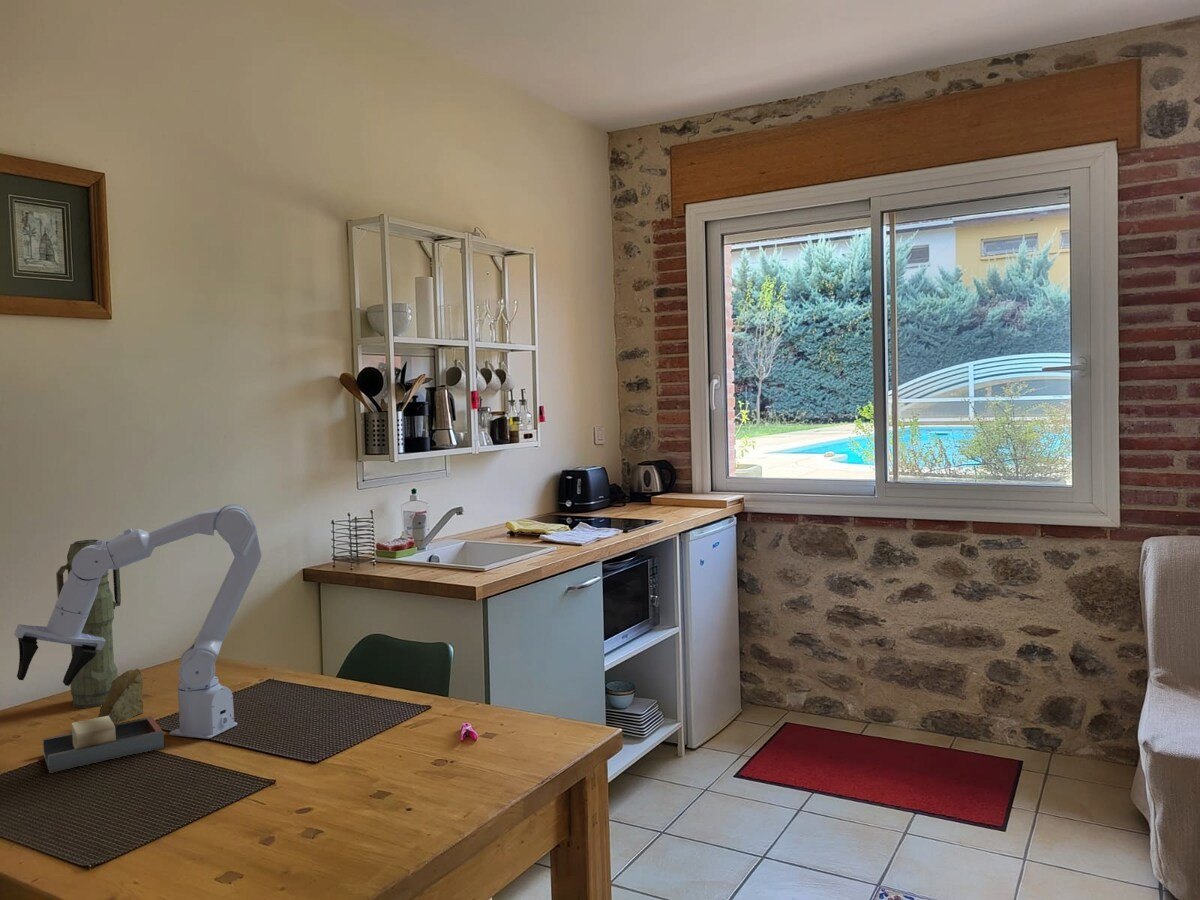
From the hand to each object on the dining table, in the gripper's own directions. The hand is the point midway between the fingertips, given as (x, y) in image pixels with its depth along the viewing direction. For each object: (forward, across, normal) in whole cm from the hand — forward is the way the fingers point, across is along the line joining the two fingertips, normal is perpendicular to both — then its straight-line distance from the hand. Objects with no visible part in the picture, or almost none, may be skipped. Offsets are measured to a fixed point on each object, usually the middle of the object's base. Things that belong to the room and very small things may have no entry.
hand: (43, 681), depth 162 cm
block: (+8, -10, +8) cm, 15 cm away
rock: (+9, -19, -10) cm, 23 cm away
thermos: (+11, -20, -27) cm, 35 cm away
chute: (+9, -12, +8) cm, 17 cm away
